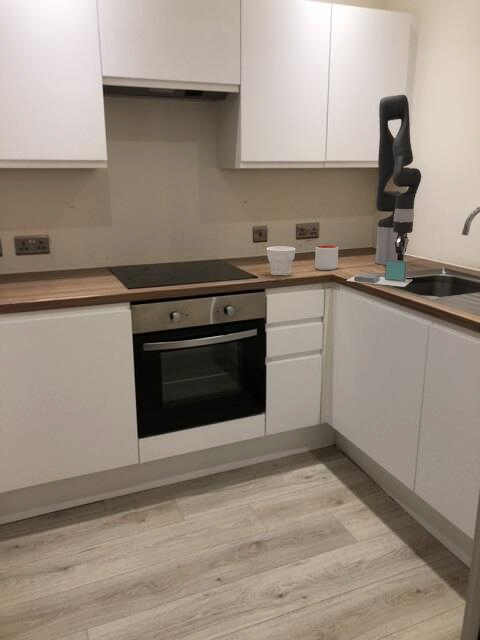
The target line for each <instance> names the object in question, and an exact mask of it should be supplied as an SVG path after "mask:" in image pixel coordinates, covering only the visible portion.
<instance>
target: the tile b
mask: <svg viewBox="0 0 480 640" xmlns="http://www.w3.org/2000/svg"><path fill="white" fill-rule="evenodd" d="M407 270H408V260H403V261H402V260H397V259H396V260H389V259H387V260H386V265H385V270H384V271H385V272H384V277H385V280H394V281H404V282H405V281H406V279H407V272H408V271H407Z"/></svg>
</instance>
